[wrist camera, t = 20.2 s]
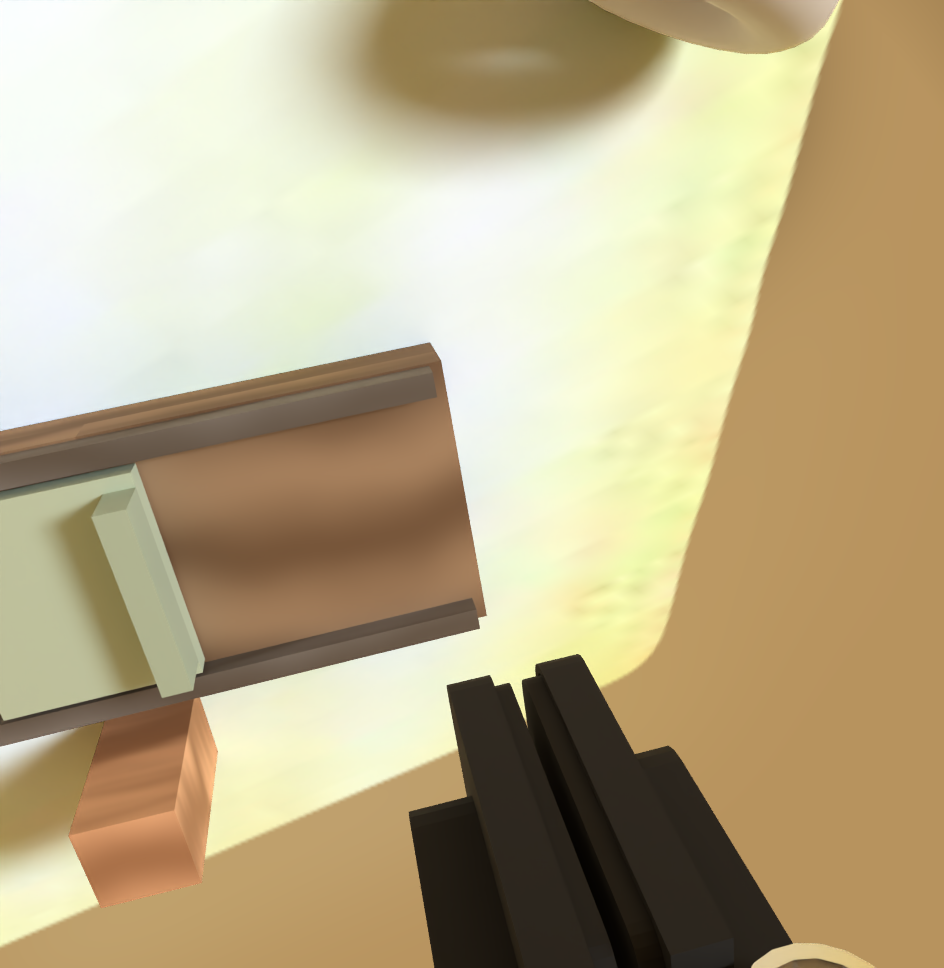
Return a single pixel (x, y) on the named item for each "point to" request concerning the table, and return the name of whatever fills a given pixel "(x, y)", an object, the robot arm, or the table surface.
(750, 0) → the donut
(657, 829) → the robot arm
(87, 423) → the puzzle board
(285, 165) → the table surface
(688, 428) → the table surface
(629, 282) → the table surface
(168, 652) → the lid
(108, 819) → the block
